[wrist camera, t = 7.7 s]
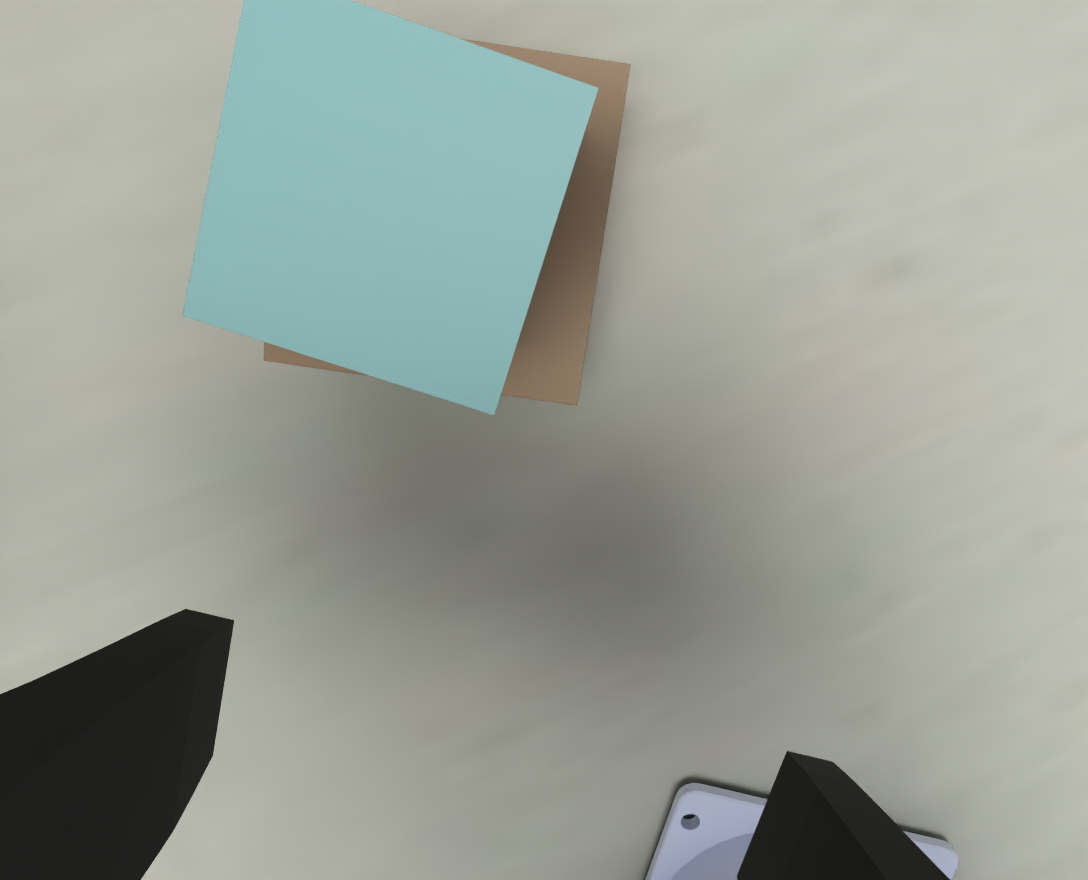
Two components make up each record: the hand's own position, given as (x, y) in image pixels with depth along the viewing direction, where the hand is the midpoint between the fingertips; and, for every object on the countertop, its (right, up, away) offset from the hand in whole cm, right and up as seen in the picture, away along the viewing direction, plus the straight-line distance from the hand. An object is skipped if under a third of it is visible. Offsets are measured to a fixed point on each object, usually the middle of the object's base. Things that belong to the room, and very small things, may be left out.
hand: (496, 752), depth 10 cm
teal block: (-1, +8, +4) cm, 9 cm away
